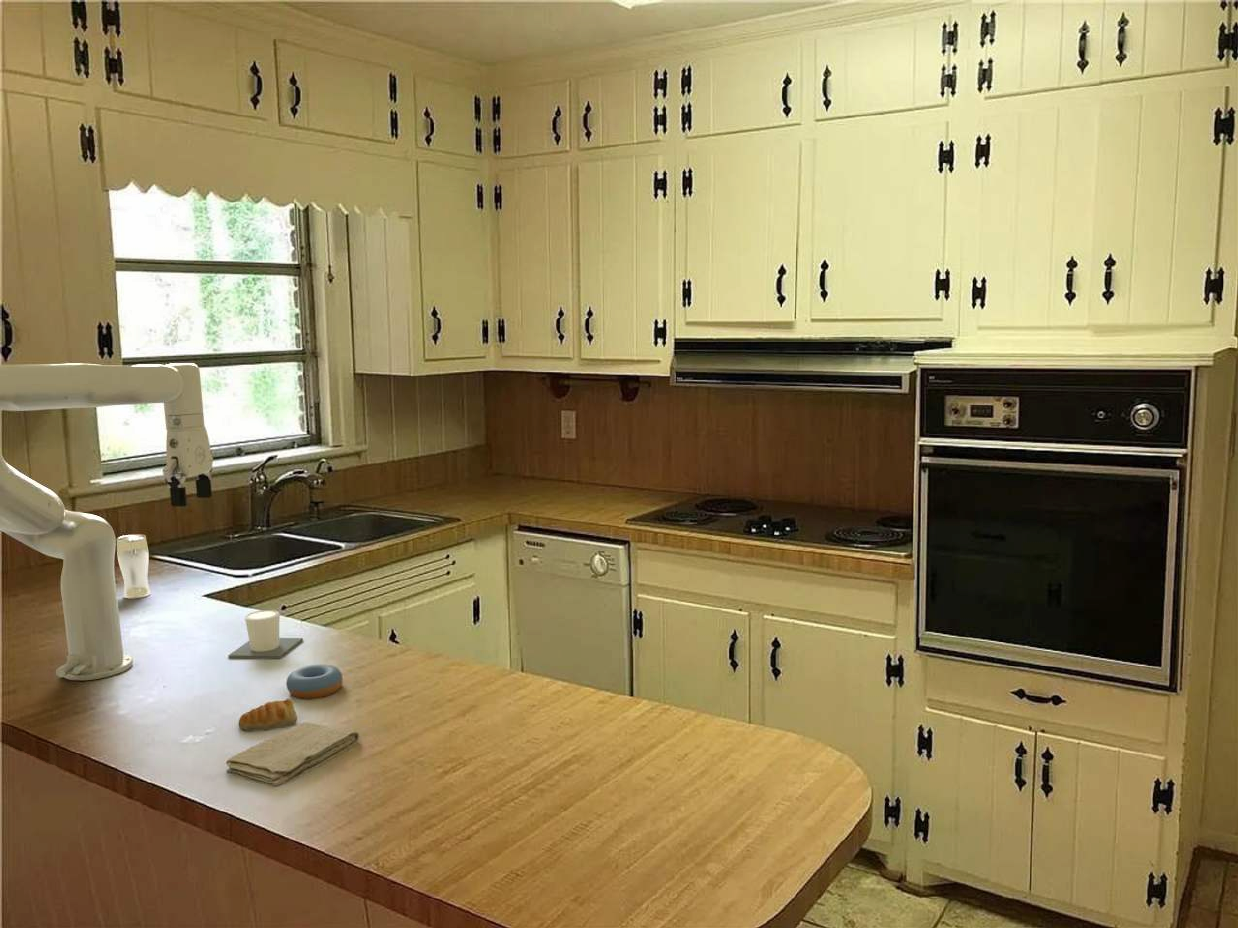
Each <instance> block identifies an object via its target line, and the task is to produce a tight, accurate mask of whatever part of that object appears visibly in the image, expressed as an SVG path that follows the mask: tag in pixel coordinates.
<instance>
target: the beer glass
mask: <svg viewBox="0 0 1238 928" xmlns="http://www.w3.org/2000/svg"><path fill="white" fill-rule="evenodd" d="M116 553H117V560H118V561H117V562H118V565H119V568H120V572H121V575H122V578H123V583H124V589H123V590H124V591H123V597H124V598H125V599H126V598H127V599H128V600H135V599H136V600H137V599H143V598H146V597H148V596H151V594H152V593H151V592H152V591H151V590H150V586H149V581H148V572H149V557H150V556H149V548H148V542H147V537H146V535H145V534H140V533H139V534H138V533H137V534H128V535H122V536H119V537H117V538H116Z"/></svg>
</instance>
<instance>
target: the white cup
mask: <svg viewBox="0 0 1238 928" xmlns="http://www.w3.org/2000/svg"><path fill="white" fill-rule="evenodd" d="M280 618H281V616H280V611H277V610H274V609H267V610H266V609H265V610H258V611H253V612H250V613H247V614H246V615H245V616H244V619H245V620H244V621H245V625H246V629H247V630H246V631H247V635H248V641H250V647H251V650H253V651H257V652H258V651H269V650H273V649H275V648H277V647H278V646H279V638H280Z"/></svg>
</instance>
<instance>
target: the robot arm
mask: <svg viewBox="0 0 1238 928" xmlns="http://www.w3.org/2000/svg"><path fill="white" fill-rule="evenodd" d="M200 371H201V370H200V368H199V366H198V365H197V364H195V363H190V362H189V363H187V362H186V363H185V362H184V363H169V364H165V365H164V364H133V365H107V364H106V365H105V364H95V363H75V362H74V363H48V364H47V363H41V364H40V363H39V364H36V363H33V364H32V363H31V364H0V411H8V412H21V411H23V412H25V411H42V410H60V409H64V410H65V409H78V408H79V409H80V408H82V409H83V408H100V407H101V408H102V407H111V406H121V405H122V406H123V405H124V406H125V405H148V404H163V408H164V418H165V419H164V420H165V429H166V430H165V431H166V439H165V440H166V443H165V444H166V446H165V447H166V450H165V452H166V463H167V464H165V466H164V467H163V468H162V473H163V476H164V479H165V482H166V484H167V487H168V489H169V492H170V493H169V495H170V503H171V504H170V505H171V506H172V507H186V506H187V505H188V502H187V490H186V487H185V486H184V484H185V481H186V478H187V477H189V478H192V477H193V478H194V477H196V479H195V488H196V490H195V491H196V498H199V499H200V498H201V499H204V498H212V497H213V495H212V494H213V493H212V483H211V482H212V481H211V479H212V478H213V477H212V471H213V462H214V457H213V456H212V453H211V451H212V450H211V445H210V440H209V435H208V432H207V429H206V426H205V415H204V402H203V393H202V391H203V390H202V383H201V372H200ZM1 437H2V436H1V435H0V531H1V532H3V533H4V534H6V535H8V536H10V537H11V538H14V539H15V540H17V541H19V542H21V543H23V544H24V545H26V546H27V547H30V548H31V549H33V550H34V551H38V552H39V553H41V554H43V555H45V556H47V557H52V558H56V559H61V560H63V561H62V562H63V563H62V570H61V574H60V593H61V594H60V595H61V600H62V610H63V618H64V626H65V634H66V635H65V636H66V642H67V643H66V645H67V650H68V655H66V662H65V664H63V665H62V666H59V667H58V668H56V669H55V675H56V676H57V677H58V678H64V679H66V680H70V681H91V680H99V679H103V678H108V677H112V676H116V675H118V674H120V673H123V672H126V671H127V670H128V669H130V668H131V667H132V666H133V663H134V661H133V656H131V655H128V654H125V653H124V651H123V650H124V649H123V641H122V631H121V621H120V615H119V614H120V611H119V602H118V594H117V593H118V592H117V587H116V586H117V585H116V576H115V557H116V548H117V538H116V535H115V531H114V529H113V527H112V525H110V523H109V522H108V521H107V520H106V519H104V518H102V517H101V516H98V515H95V514H91V513H85V512H81V511H72V510H71V511H70V510H67V509H66V508H65V505H64V503H63V501H62V498H60V496H58V495H57V494H56V493H55V492H54V491H52V490H51V489H50V488H47V487H45V486H44V485H41V484H40V483H38V482H37V481H35V480H33V479H31V478H29V477H28V476H27V475H25V474H23V473H21V472H19V471H18V470H17V469H16V468H14V467H13V466H11V465H10V464H9V463H8V462H7V461H6V460H5V459H4V456H3V453H2V448H1V442H2V441H1V439H2V438H1Z"/></svg>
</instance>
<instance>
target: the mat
mask: <svg viewBox="0 0 1238 928" xmlns="http://www.w3.org/2000/svg"><path fill="white" fill-rule="evenodd" d="M303 641H304V638H303V637H279V646H278V647H277V648H275V649H273V650H269V651H258V652H257V651H253V650H251V647H250V641H249V640H248V641H247V642H245V643H244V644H242V645H241V646H240V647H238V648H236V649H235V650H234V651H232V652H231V653H230V654H228V659H255V658H273V659H274V658H276V659H274V660H279V659H282V658H283V657H284V656H286V655H287V654H289V652H290V650H291V651H292V650H293V649H294V648H296V647H297V646H299V645H300V644H301V643H302V642H303ZM285 654H286V655H285ZM273 659H272V660H273Z"/></svg>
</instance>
